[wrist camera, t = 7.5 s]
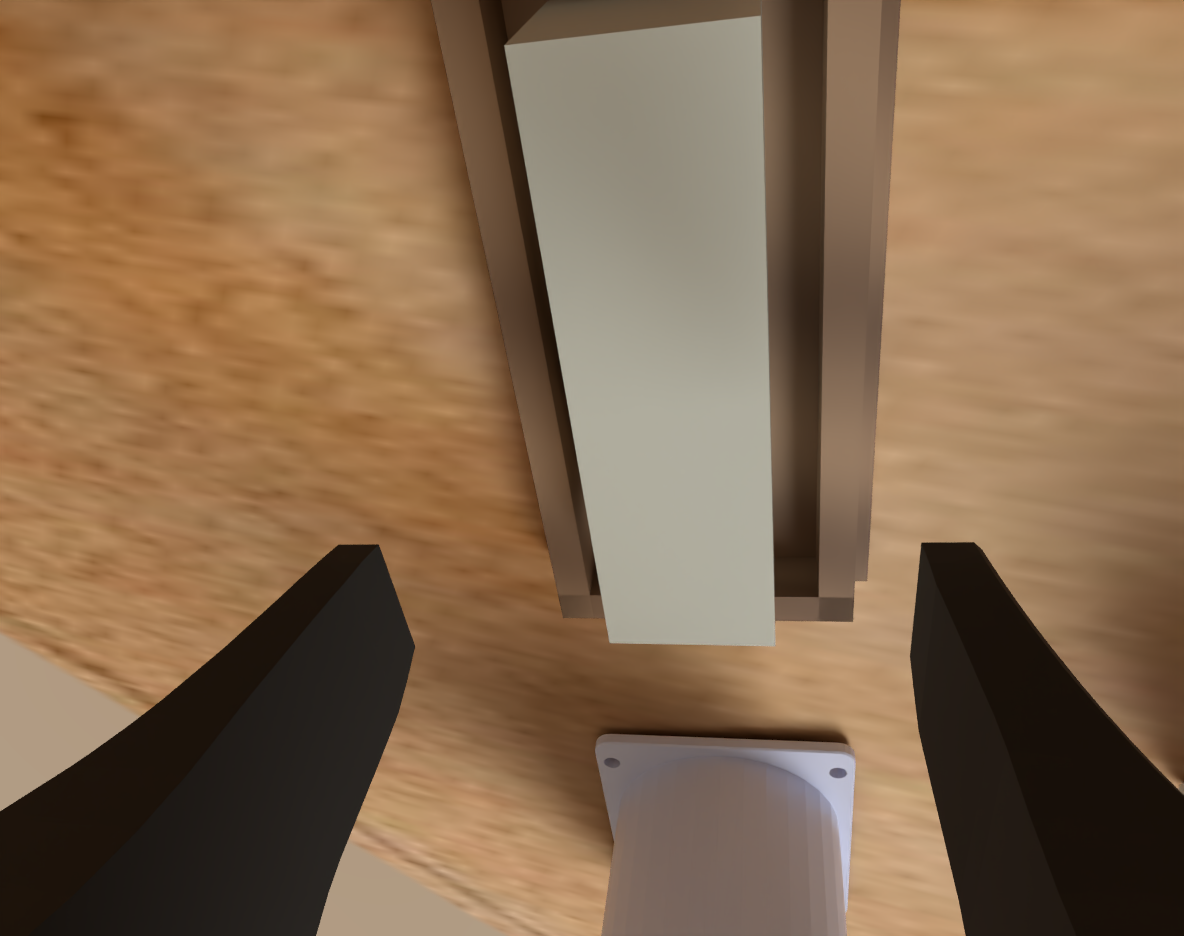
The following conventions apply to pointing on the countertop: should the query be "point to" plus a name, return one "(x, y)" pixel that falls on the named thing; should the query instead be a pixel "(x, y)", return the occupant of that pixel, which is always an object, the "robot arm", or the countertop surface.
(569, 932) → the countertop surface
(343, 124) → the countertop surface
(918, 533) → the countertop surface
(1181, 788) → the supplement box
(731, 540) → the grey rectangular block
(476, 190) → the tray
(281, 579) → the countertop surface
